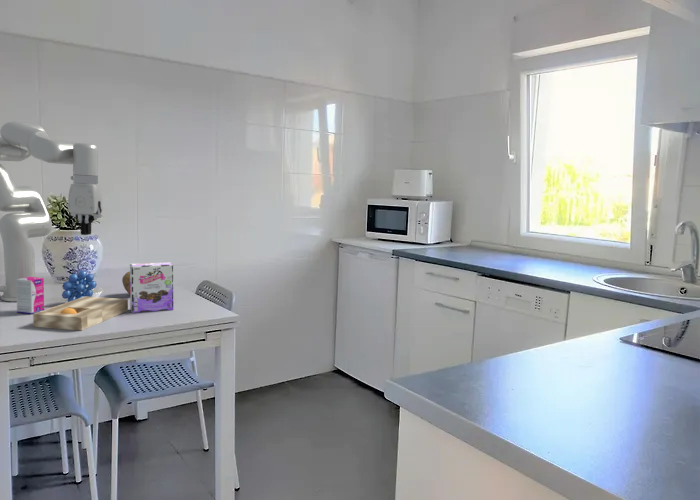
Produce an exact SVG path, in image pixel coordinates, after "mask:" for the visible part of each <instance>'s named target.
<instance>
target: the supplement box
mask: <svg viewBox="0 0 700 500" xmlns="http://www.w3.org/2000/svg"><path fill="white" fill-rule="evenodd" d="M16 281H17V301H16V309H17V310H16V313H18V314H22V315H24V314H25V315H33V314H34V313H37V312H40V311H43V310H45V290H44V289H45V286H44V285H45V283H44V282H45V281H44V277H37V276H35V277H26V278H21V279H17V280H16Z"/></svg>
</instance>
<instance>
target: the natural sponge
mask: <svg viewBox="0 0 700 500" xmlns="http://www.w3.org/2000/svg"><path fill="white" fill-rule="evenodd" d="M121 282H122V285H123V288H124V290H125V291H126V292H127V294H129V295H130V270H129V271H127V272H126V273H125V274H124V275H123V276H122V279H121Z"/></svg>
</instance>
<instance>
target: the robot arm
mask: <svg viewBox="0 0 700 500" xmlns="http://www.w3.org/2000/svg"><path fill="white" fill-rule="evenodd" d="M30 156H31V157H33V158H34V159H38V160H40V161H43V162H46V163H49V164H57V165H62V164H63V165H72V175H71V176H70V180H71V181H72V183H70V186H69V190H68V197H67V198H68V200H67V211H68V212H69V213H70V216H71V217H73V218H76V219H77V220H78V223H79V224H80V235H83V236H88V235H91V234H92V224H93V223H94V221H95V220H97V219H102V212H103V200H102V199H103V198H102V190H101V187H100V185H99V148H98V146H97V145H96V144H93V143H84V142H83V143H81V142H76V141H74V142H73V141H64V140H53V139H50V137H49V135H48V133H47V132H46V130H45V128H43V127H42V126H41V125H40V124H38V123H31V122H23V121H7V122H5V123H4V124H3V125H2V126H1V127H0V162H22V161H25V160H26V159H28V158H29V157H30ZM0 212H6V214H4V215H3V216H2V217H1V218H0V238H1V240H2V247H3V248H2V250H3V263H4V265H3V266H4V278H5V279H4V281H5V282H4V284H5V285H0V292H3V294H2V295H1V296H0V299H1V301H4V302H17V281H16V280H17V279H21V278H26V277H36V260H35V259H36V258H35V257H36V256H35V249H34V246H33V245H32V243H31V242H30V240H29V239H30V238H41V237H45V236H48V235H49V234H50V233H51V231H52V230H53V229H52V228H53V223H52V220H51V216H50V213H49V211H48V209H47V206H46V203H45V202H44V199H43V198H42V195H41V193H40V192H39V191H38V190H37V189H36V188H35V187H32V186H29V185H17V184H16V183H15V181H14V180H13V178H12V175H11V172H9V170H8V169H7V168H6V167H4V166H3V165H2V164H1V163H0Z"/></svg>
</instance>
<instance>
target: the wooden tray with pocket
mask: <svg viewBox="0 0 700 500" xmlns="http://www.w3.org/2000/svg"><path fill="white" fill-rule="evenodd" d="M65 308H72V309H74V310H75V311H76V312H77V314H63V313H60V312H61V311H62V310H63V309H65ZM128 311H129V299H128V298H127V299H126V298H113V297H102V296H101V297H100V296H91V297H88V296H85V297H82V298H79V299H76V300H73V301H70V302H68V301H67V302H64V303H62V304H58V305H55V306H52V307H50V308H46V309H44V310H43V311H40V312H37V313H34V314H32V319H33V320H32V321H33V328H45V329H57V330H71V331H85V330H86V329H89V328H92V327H94V326H96V325H98V324H100V323H103V322H105V321H107V320H110V319H112V318H114V317H116V316H119V315H121V314H123V313H126V312H128Z"/></svg>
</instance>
